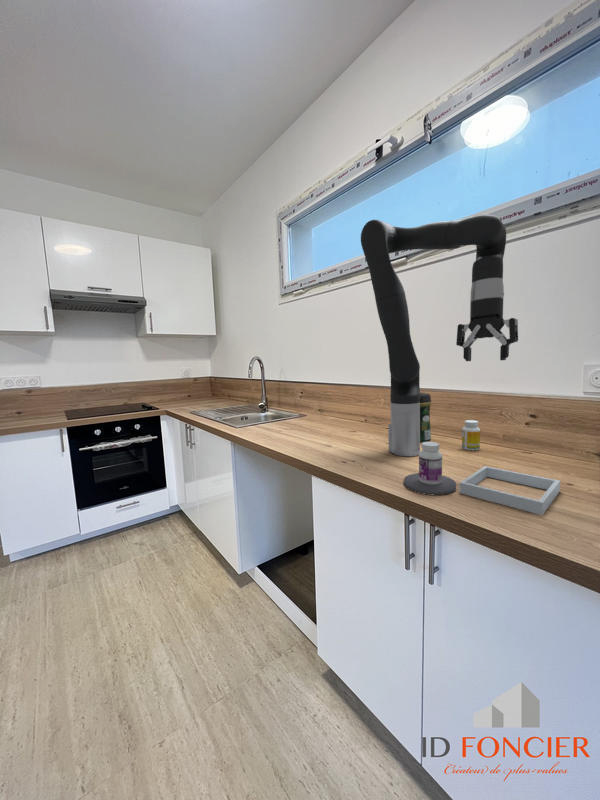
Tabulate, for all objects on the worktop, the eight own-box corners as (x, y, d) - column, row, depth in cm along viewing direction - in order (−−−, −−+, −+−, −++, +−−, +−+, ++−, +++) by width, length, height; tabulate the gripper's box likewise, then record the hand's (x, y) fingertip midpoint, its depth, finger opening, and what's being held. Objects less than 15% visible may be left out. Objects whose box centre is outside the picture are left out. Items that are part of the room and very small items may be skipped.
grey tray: (459, 492, 73) (459, 482, 73) (484, 475, 84) (484, 466, 83) (542, 515, 62) (542, 502, 61) (559, 491, 72) (560, 480, 72)
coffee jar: (400, 438, 126) (400, 392, 124) (415, 435, 130) (415, 390, 127) (419, 443, 117) (419, 394, 115) (434, 440, 121) (434, 392, 119)
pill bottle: (415, 478, 81) (414, 441, 80) (435, 476, 81) (435, 440, 80) (425, 486, 76) (425, 447, 75) (446, 484, 76) (446, 445, 75)
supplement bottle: (458, 448, 109) (458, 420, 108) (468, 445, 111) (469, 419, 110) (472, 451, 104) (473, 423, 103) (483, 449, 107) (483, 421, 105)
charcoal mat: (394, 485, 79) (394, 482, 79) (419, 473, 87) (419, 469, 87) (442, 499, 70) (442, 495, 70) (464, 484, 78) (464, 480, 78)
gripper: (452, 302, 86) (452, 362, 88) (513, 292, 75) (511, 360, 77) (464, 304, 91) (463, 361, 93) (522, 295, 80) (520, 359, 82)
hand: (485, 360), depth 85 cm, fingers open, 8 cm apart
